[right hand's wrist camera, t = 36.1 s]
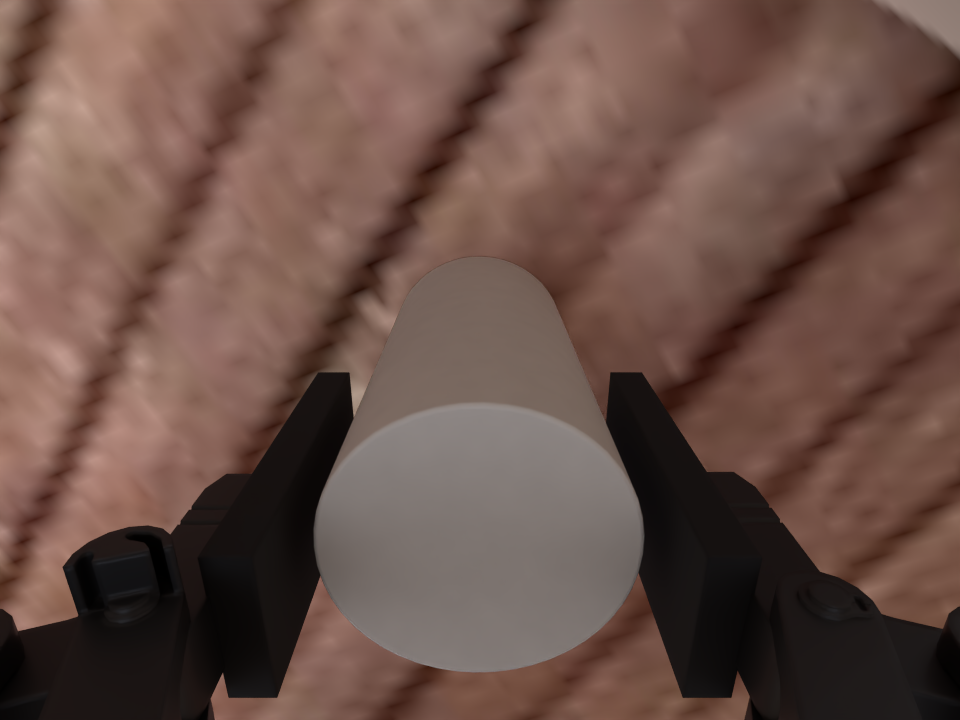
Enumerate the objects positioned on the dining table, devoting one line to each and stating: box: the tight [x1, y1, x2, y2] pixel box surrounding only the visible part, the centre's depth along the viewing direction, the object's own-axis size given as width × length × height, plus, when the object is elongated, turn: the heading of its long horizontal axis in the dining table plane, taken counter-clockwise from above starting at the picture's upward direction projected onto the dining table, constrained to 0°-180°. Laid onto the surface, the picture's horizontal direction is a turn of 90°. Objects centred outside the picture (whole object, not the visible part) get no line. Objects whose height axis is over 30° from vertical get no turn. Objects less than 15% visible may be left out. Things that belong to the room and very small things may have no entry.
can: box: [313, 256, 645, 672], centre depth 15 cm, size 6×6×11 cm
